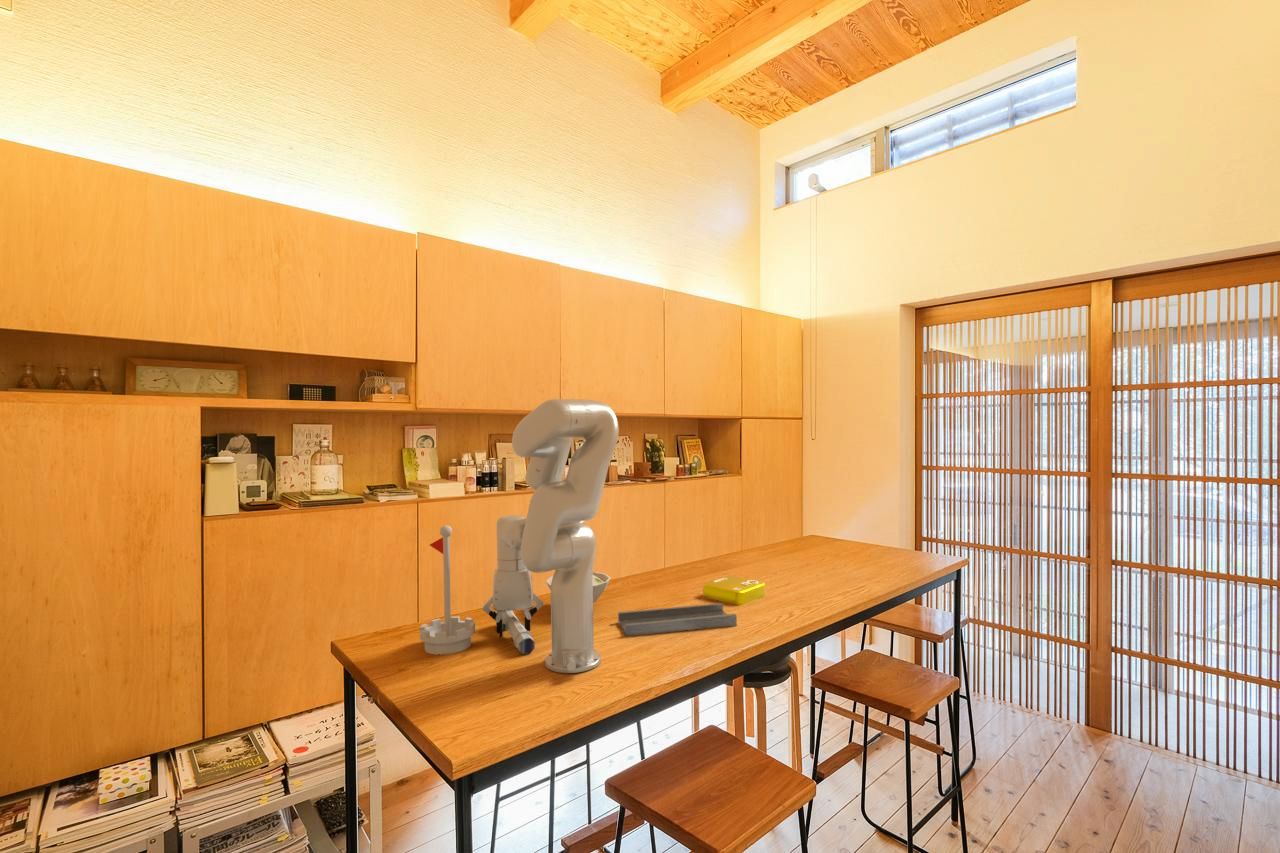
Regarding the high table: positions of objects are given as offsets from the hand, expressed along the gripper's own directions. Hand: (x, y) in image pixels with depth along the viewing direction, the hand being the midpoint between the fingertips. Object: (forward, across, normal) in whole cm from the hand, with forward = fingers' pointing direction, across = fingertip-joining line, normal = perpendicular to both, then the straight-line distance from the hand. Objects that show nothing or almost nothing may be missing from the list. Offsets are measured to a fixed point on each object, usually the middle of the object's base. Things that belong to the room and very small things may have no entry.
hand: (513, 634), depth 150 cm
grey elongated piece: (+1, 0, 0) cm, 1 cm away
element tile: (+2, -68, -20) cm, 71 cm away
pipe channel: (+1, -43, +1) cm, 43 cm away
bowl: (+1, -19, -20) cm, 28 cm away
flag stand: (+1, +16, +1) cm, 16 cm away
